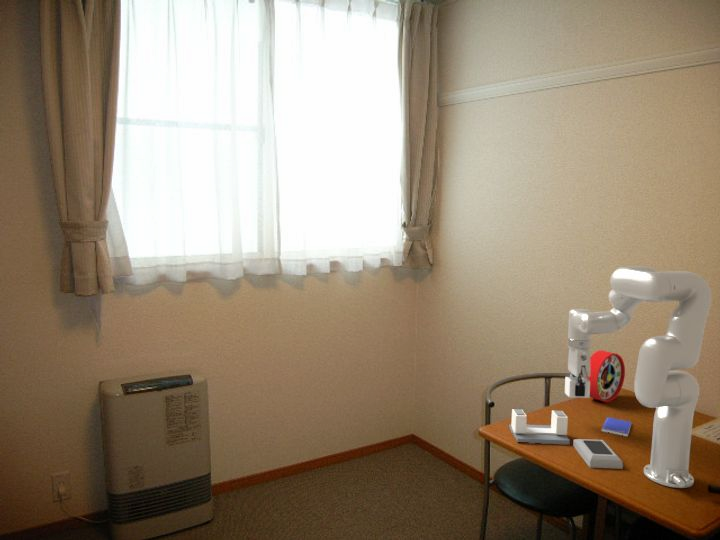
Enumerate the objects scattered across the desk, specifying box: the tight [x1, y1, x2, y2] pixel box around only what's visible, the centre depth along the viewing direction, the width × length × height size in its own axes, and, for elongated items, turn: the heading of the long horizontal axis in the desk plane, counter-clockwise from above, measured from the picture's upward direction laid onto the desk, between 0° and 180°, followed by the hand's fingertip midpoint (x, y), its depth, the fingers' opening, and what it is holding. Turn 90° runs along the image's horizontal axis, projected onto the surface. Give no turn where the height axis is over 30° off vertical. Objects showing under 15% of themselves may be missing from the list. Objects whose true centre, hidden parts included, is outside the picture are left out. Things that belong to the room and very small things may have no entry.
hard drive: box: [601, 417, 632, 437], centre depth 190 cm, size 2×8×12 cm
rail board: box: [508, 408, 571, 446], centre depth 181 cm, size 12×17×8 cm
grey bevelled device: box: [572, 438, 624, 470], centre depth 167 cm, size 10×4×15 cm
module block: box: [564, 376, 591, 399], centre depth 191 cm, size 5×7×6 cm
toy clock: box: [587, 349, 626, 403], centre depth 217 cm, size 20×6×20 cm, turn 124°
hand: (577, 392), depth 191 cm, fingers closed on module block, 5 cm apart
